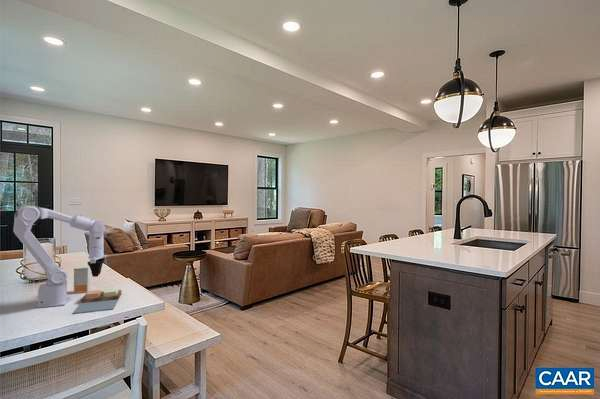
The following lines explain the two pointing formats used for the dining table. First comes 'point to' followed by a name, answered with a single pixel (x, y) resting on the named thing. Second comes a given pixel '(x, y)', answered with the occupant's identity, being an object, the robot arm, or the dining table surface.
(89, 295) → the tile terracotta
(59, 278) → the robot arm
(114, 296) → the riser
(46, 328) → the dining table surface
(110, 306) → the mat
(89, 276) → the skincare box
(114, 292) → the tile sage
